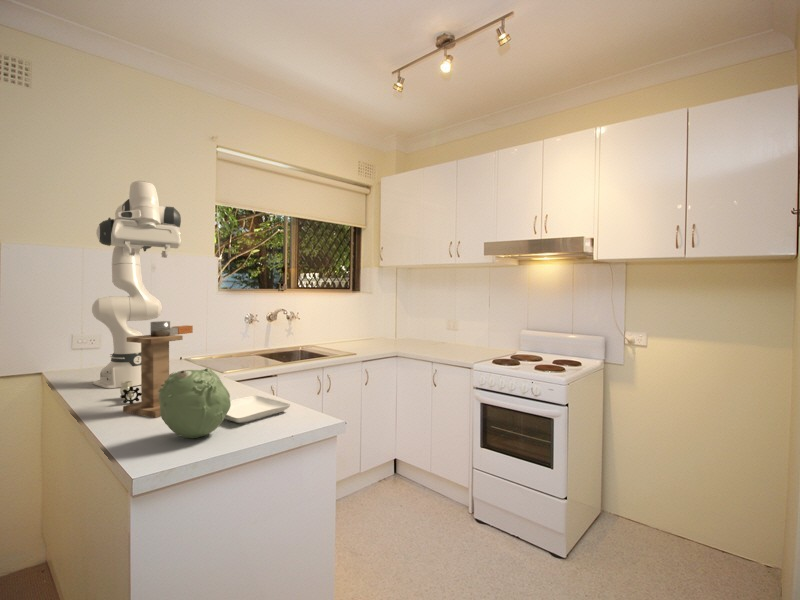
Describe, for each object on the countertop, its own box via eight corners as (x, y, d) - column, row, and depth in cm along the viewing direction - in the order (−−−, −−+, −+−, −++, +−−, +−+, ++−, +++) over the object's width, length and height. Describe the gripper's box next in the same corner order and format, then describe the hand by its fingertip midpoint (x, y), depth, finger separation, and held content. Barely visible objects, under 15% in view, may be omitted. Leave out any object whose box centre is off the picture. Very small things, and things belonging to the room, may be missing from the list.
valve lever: (146, 336, 143) (146, 322, 143) (183, 332, 157) (183, 319, 157) (158, 337, 141) (158, 322, 141) (195, 333, 155) (195, 319, 154)
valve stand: (123, 411, 141) (122, 336, 140) (155, 403, 152) (155, 333, 151) (155, 417, 135) (155, 339, 134) (186, 408, 146) (186, 335, 145)
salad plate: (255, 402, 155) (255, 393, 155) (292, 412, 143) (292, 403, 143) (201, 416, 138) (201, 406, 138) (237, 429, 126) (237, 418, 126)
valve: (115, 399, 157) (120, 406, 148) (115, 382, 157) (120, 388, 148) (135, 396, 161) (141, 402, 153) (135, 379, 161) (141, 385, 152)
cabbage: (238, 436, 119) (238, 368, 118) (165, 453, 106) (165, 377, 106) (220, 422, 131) (220, 360, 130) (153, 436, 118) (152, 367, 118)
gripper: (177, 229, 150) (181, 262, 145) (109, 222, 137) (111, 258, 132) (181, 220, 146) (184, 253, 141) (111, 211, 133) (112, 248, 128)
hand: (148, 255), depth 137 cm, fingers open, 8 cm apart
